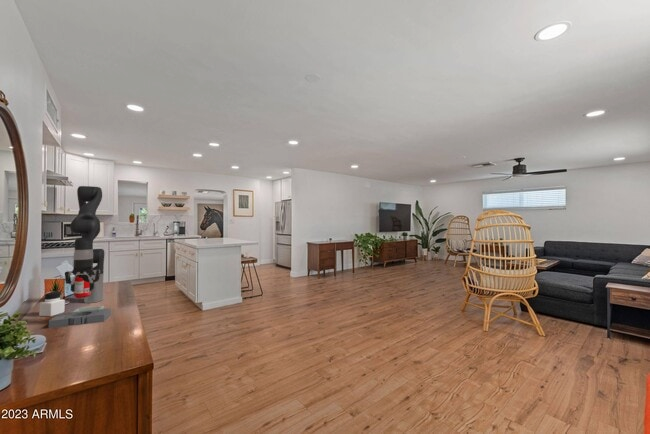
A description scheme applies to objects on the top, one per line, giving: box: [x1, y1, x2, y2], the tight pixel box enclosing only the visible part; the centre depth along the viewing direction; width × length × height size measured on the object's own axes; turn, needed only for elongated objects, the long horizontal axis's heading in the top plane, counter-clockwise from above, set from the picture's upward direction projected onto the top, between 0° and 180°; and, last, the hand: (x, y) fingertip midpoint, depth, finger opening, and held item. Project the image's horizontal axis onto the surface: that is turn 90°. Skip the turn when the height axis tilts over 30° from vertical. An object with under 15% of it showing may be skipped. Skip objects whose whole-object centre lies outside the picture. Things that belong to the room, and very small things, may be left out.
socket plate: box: [48, 307, 112, 329], centre depth 139 cm, size 21×12×4 cm, turn 115°
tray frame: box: [72, 305, 105, 312], centre depth 150 cm, size 12×12×2 cm
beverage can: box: [73, 274, 91, 299], centre depth 140 cm, size 6×6×12 cm
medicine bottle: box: [39, 290, 66, 317], centre depth 149 cm, size 7×7×12 cm
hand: (82, 290), depth 140 cm, fingers closed on beverage can, 6 cm apart
